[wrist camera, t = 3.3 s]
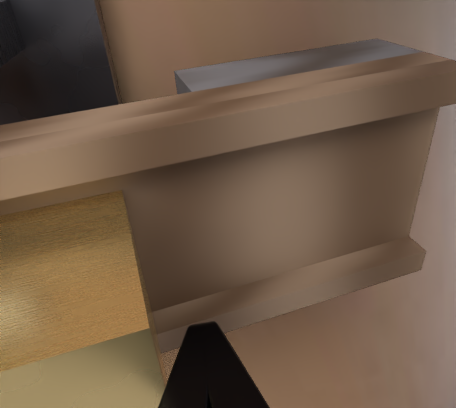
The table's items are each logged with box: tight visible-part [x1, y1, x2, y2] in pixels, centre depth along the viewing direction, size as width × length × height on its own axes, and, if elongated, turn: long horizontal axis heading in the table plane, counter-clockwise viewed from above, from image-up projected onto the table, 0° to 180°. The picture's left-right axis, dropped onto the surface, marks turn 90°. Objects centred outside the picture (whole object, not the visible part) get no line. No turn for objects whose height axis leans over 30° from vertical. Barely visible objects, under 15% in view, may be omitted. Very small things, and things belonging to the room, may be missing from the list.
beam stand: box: [0, 0, 122, 125], centre depth 14 cm, size 8×14×8 cm, turn 4°
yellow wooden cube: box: [0, 190, 167, 408], centre depth 10 cm, size 5×5×5 cm
